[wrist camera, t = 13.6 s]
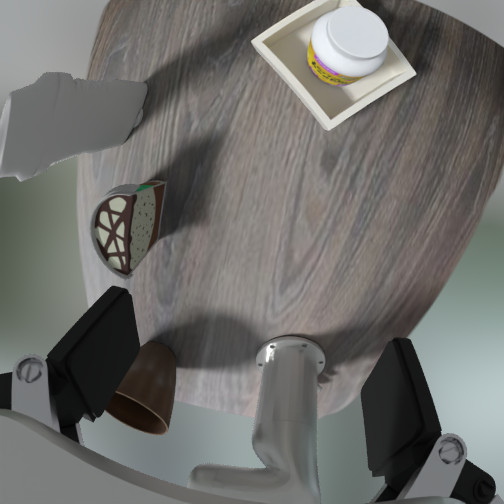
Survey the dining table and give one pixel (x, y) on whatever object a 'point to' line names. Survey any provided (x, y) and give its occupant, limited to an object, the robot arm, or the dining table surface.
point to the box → (311, 88)
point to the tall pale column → (65, 121)
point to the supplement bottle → (347, 45)
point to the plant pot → (147, 391)
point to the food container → (127, 225)
